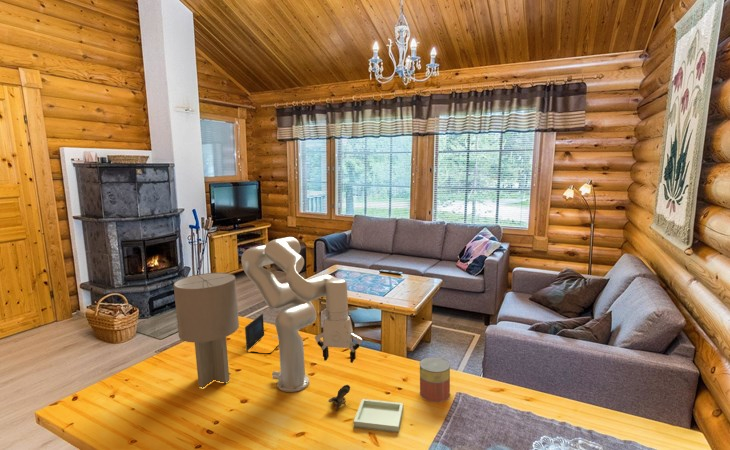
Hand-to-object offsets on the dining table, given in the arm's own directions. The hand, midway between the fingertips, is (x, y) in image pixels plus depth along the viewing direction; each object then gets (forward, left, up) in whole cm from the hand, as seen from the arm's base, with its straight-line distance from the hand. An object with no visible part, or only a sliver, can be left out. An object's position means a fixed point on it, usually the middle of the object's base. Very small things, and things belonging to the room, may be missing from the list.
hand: (339, 360), depth 139 cm
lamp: (-57, +8, -18) cm, 60 cm away
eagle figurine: (-1, +1, -18) cm, 18 cm away
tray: (+15, -4, -18) cm, 24 cm away
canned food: (+33, +14, -18) cm, 40 cm away
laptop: (-50, +42, -18) cm, 68 cm away
